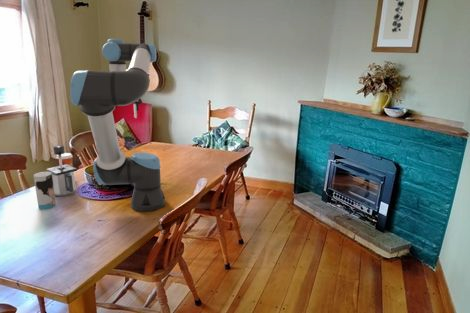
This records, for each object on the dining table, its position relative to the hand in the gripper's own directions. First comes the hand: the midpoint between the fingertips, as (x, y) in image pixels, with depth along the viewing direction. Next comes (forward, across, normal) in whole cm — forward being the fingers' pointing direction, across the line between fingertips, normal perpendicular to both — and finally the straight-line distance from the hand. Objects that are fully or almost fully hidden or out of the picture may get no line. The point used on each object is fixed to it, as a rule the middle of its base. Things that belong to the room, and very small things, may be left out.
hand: (121, 118), depth 161 cm
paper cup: (+35, +27, -20) cm, 48 cm away
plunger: (+33, +29, -1) cm, 43 cm away
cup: (+35, +36, +13) cm, 51 cm away
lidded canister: (+35, +28, 0) cm, 45 cm away
